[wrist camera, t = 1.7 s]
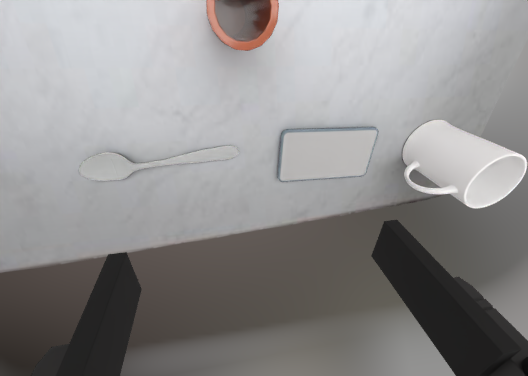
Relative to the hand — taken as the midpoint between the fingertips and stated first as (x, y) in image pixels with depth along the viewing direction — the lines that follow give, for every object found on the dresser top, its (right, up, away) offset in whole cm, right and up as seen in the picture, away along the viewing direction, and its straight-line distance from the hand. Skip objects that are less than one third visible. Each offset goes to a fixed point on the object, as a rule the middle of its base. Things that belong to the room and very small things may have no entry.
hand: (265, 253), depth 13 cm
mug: (+25, +10, +28) cm, 39 cm away
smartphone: (+9, +9, +25) cm, 28 cm away
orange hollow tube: (-4, +22, +14) cm, 26 cm away
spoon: (-14, +8, +21) cm, 26 cm away
